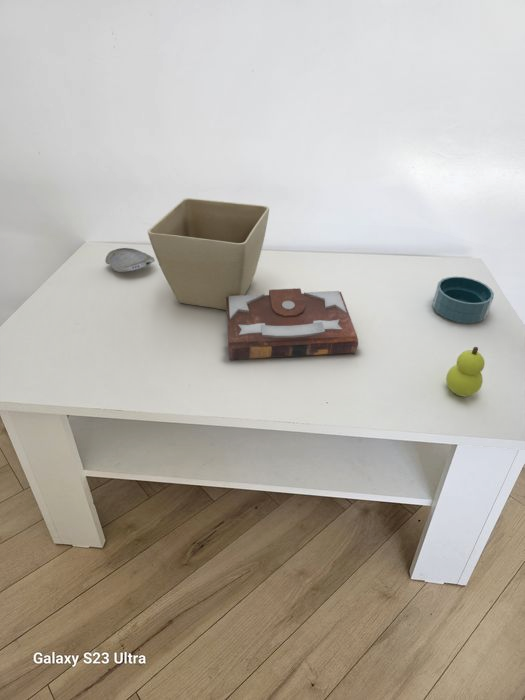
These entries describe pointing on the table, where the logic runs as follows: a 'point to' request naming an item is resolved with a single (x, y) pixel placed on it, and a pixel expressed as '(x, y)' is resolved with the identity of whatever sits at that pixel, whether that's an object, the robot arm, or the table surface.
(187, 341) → the table surface
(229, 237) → the flower pot
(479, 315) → the bowl
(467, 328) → the table surface
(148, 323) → the table surface
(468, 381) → the pear
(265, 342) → the book
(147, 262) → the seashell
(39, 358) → the table surface
